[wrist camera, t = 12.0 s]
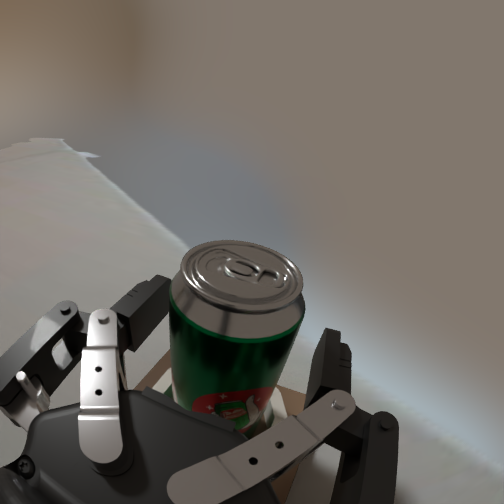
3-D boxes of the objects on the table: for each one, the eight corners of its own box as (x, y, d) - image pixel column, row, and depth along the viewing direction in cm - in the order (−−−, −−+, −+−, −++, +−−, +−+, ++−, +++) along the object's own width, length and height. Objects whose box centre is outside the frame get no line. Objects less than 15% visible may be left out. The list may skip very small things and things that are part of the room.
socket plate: (101, 435, 13) (88, 415, 12) (176, 349, 22) (175, 324, 20) (274, 519, 10) (288, 514, 9) (314, 405, 19) (328, 383, 17)
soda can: (197, 382, 18) (212, 224, 12) (264, 410, 17) (322, 259, 11) (161, 434, 14) (138, 275, 8) (236, 469, 12) (298, 339, 7)
